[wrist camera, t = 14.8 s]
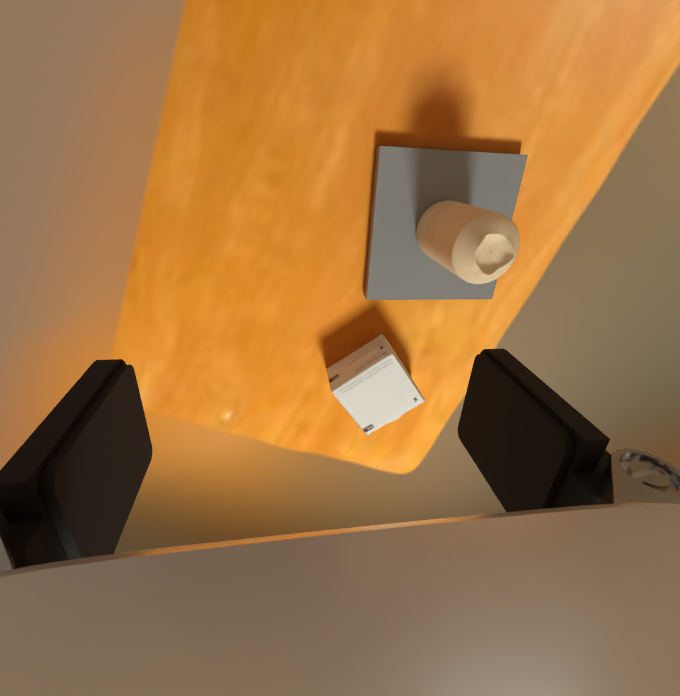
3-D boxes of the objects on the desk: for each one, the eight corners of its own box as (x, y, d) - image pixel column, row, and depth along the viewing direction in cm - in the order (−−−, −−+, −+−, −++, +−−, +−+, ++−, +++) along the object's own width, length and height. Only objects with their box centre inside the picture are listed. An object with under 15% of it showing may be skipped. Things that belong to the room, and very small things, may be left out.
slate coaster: (376, 145, 33) (380, 145, 32) (520, 154, 36) (527, 154, 34) (364, 295, 40) (366, 299, 39) (486, 295, 42) (491, 299, 41)
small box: (381, 331, 42) (394, 352, 38) (412, 378, 46) (427, 402, 41) (324, 367, 43) (329, 392, 39) (358, 410, 47) (367, 438, 42)
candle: (477, 205, 36) (543, 223, 27) (458, 261, 38) (513, 294, 30) (424, 194, 35) (475, 208, 26) (408, 253, 37) (450, 284, 28)
